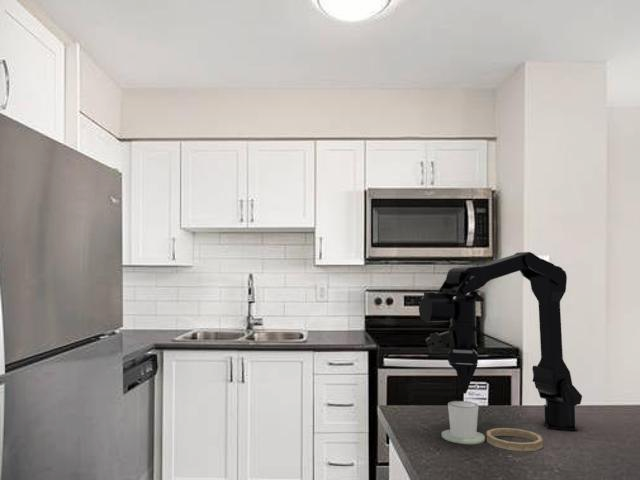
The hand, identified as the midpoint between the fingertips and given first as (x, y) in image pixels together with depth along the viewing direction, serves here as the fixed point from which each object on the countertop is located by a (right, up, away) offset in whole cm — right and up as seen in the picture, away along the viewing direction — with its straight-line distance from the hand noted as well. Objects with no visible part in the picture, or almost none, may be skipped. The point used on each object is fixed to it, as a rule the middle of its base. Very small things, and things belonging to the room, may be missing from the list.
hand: (464, 389), depth 121 cm
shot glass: (0, -10, -1) cm, 11 cm away
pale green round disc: (0, -11, -1) cm, 11 cm away
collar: (+10, -11, -4) cm, 15 cm away
